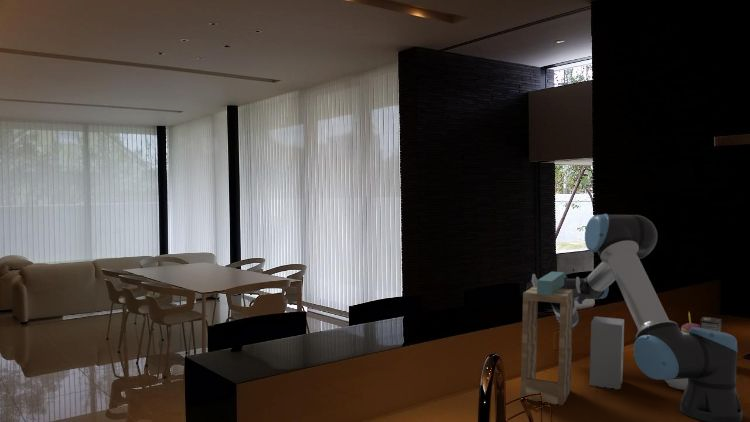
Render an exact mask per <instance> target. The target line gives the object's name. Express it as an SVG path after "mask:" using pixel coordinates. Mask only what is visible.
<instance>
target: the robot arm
mask: <svg viewBox="0 0 750 422" xmlns="http://www.w3.org/2000/svg"><path fill="white" fill-rule="evenodd" d="M584 242H585V246H586V249H587V250H588V251H589V252H593V253H597V254H598V257H599V258H600V260H601V262H600V263H599V264H598V265H597V266H596V267H595V268H594V270H592V271H591V273H589V274H588V275H587V276H586V277H585V278H580V277H579V276H576V278H568V276H567V275H566V273H564V285H563V286H562V287H561V288H560V289H572V290H573V318H572V328H574V327H575V326H577V324H578V323H579V313H578V310H577V307H576V303H575V302H577V304H579V305H582V304H583V302H584V301H586V300H599V299H605V298H607V296H608V293H609V289H610V288H609V286H611V285H612V284H613V283H614V282H616V284H617V286H618V288H619V290H620V292H621V295H622V296H623V299H624V301H625V304H626V306H627V308H628V310H629V312H630V315H631V317H632V319H633V321H634V324H635V325H636V327H637V333H636V335H635V339H636V340H635V342H634V344H633V349H632V350H633V351H634V353H633V357H634V360H635V363H636V365H637V366H638V368H639V370H640V371H641V373H643V374H644V375H645V376H647V377H648V378H650V379H653V380H664V381H665V380H672V379H685V378H688V384H687V386H686V388H685V390H683V391H684V392H683V394H682V396H681V399H680V400H679V401H680V402H679V410H680V412H682V414H684V415H685V416H687V417H690V418H692V419H695V420H699V421H701V422H702V421H703V422H742V421H743V417H744V415H743V414H744V413H743V408H742V405H741V402H740V398H739V395H738V392H737V369H738V368H737V367H738V366H737V365H738V352H739V351H738V340H737V338H736V337H735V336H734V335H732V334H730V333H728V332H723V331H721V332H720V331H715V330H710V329H704V328H697V327H692V328H690V330H689V334H682V332H681V331H682V330H681V327H680V326H679V325H678V323H677V322H675V321H673V320H670V319H669V317H668V315H667V312H666V311H665V309H664V307H663V305H662V302H661V300H660V299H659V297H658V294H657V293H656V291H655V288H654V286H653V284H652V282H651V280H650V279H649V275H648V274H647V272H646V271H645V268H644V266H643V263H642V262H641V260H642V259H644V258H645V257H647V256H648V255H650V254H651V252H652V251H653V250H654V249H655V247H656V245H657V242H658V231H657V228H656V226H655V224H654V223H653V222H652V221H651V220H650V219H648V218H647V217H645V216H642V215H639V214H608V213H603V214H595V215H594V216H592V217H590V219H589V220H588V222H587V223H586V227H585V231H584ZM640 259H641V260H640ZM531 275H532V276H531V279H530V282H527V283H526V291H527V290H529V289H530V288H532V287H533V286H534V287H537V280H538V278H537V276H536V274H535V273H532V274H531ZM550 304H551V307H552V309H553V312H554V315H555V318H556V321H557V320H558V321H557V322H558V324H559V323H560V303H553V302H550Z"/></svg>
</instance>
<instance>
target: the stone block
mask: <svg viewBox="0 0 750 422" xmlns="http://www.w3.org/2000/svg"><path fill="white" fill-rule="evenodd" d="M624 341H625V319H623V318H615V317H614V318H613V317H603V316H594V317H593V319H592V320H591V322H590V352H589V354H590V355H589V356H590V357H589V358H590V359H589V360H590V361H589V386H590V385H591V387H597V386H598V388H604V387H606V389H611V388H614V389H613V390H618V389H620V388H622V385H621V384H623V379H624V378H623V376H624V375H623V374H624V373H623V370H624V343H625V342H624ZM620 390H621V389H620Z"/></svg>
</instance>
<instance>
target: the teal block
mask: <svg viewBox="0 0 750 422" xmlns="http://www.w3.org/2000/svg"><path fill="white" fill-rule="evenodd" d="M564 274H565V272H562V271H550V272H549V273H547V274H545V275H543V276H542V277H540V278H539V279H537V294H541V295H552V294H554V293H555V292H556V291H557V290H558V289H560V288H561V287H562V286H563V285H564Z"/></svg>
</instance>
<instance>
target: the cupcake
mask: <svg viewBox="0 0 750 422" xmlns="http://www.w3.org/2000/svg"><path fill="white" fill-rule="evenodd" d="M687 315H688V321H689V322H687V323H684V324H682V325H681V326H680V330H681V331H683V332H686V333H688V334H689V330H690V328H692V327H697V328H700V324H698V323H693V322H692V318H691V313H690V312H688V314H687Z"/></svg>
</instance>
